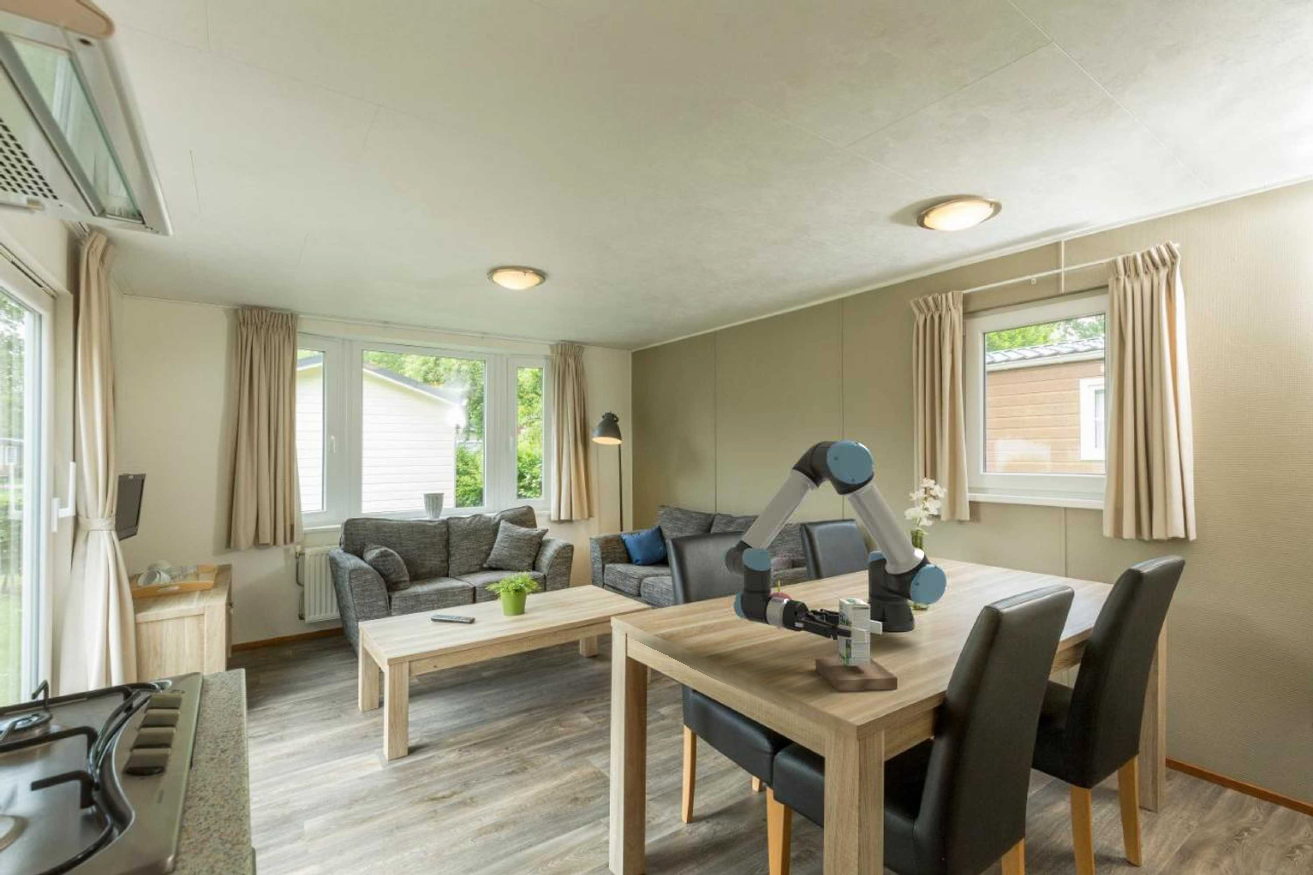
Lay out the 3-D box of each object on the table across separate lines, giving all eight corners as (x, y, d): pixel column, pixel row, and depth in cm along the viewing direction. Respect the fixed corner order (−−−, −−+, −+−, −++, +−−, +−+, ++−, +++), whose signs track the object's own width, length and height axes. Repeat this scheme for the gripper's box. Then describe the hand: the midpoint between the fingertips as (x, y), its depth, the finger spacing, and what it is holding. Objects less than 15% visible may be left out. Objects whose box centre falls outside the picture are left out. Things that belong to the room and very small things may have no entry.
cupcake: (792, 618, 196) (792, 581, 196) (765, 616, 198) (765, 580, 198) (791, 611, 204) (791, 575, 205) (766, 610, 206) (766, 574, 206)
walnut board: (868, 666, 152) (868, 656, 152) (897, 688, 138) (897, 677, 138) (815, 669, 151) (815, 659, 151) (838, 691, 137) (838, 680, 137)
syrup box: (837, 658, 147) (837, 598, 147) (861, 657, 148) (860, 597, 148) (847, 666, 141) (846, 604, 142) (871, 665, 142) (871, 603, 142)
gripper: (808, 620, 165) (891, 638, 149) (766, 637, 149) (854, 659, 134) (808, 592, 165) (891, 607, 149) (766, 607, 150) (853, 625, 134)
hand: (873, 632), depth 141 cm, fingers closed on syrup box, 8 cm apart
